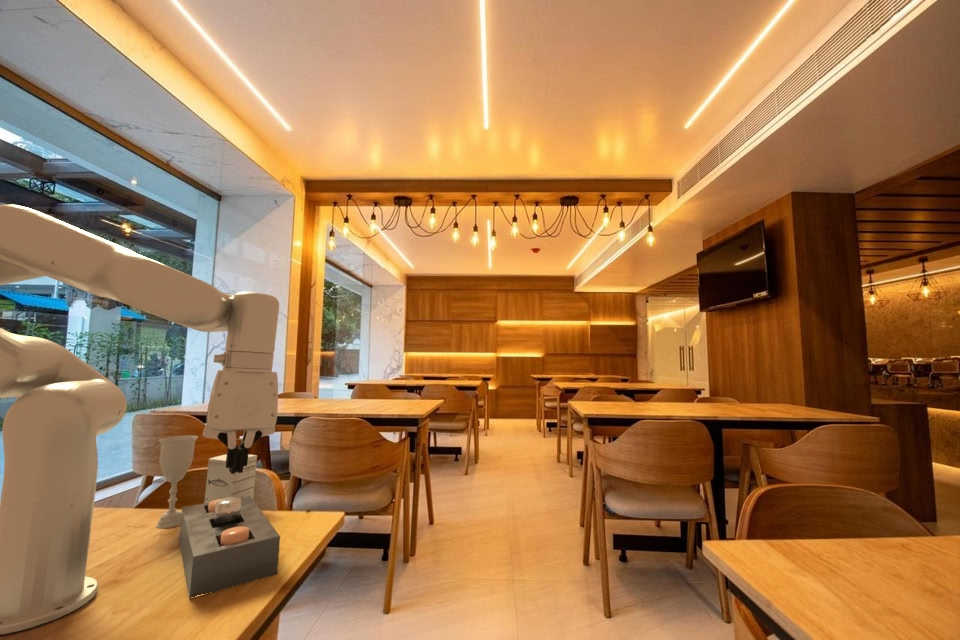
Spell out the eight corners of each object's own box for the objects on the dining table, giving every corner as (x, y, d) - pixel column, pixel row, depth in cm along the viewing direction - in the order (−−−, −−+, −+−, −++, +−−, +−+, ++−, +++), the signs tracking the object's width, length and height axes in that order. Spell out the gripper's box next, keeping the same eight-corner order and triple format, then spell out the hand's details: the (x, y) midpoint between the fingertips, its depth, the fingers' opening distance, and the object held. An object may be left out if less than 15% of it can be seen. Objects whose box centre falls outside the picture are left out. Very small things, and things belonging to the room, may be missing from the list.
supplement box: (201, 514, 92) (207, 458, 93) (230, 504, 99) (234, 451, 100) (226, 518, 90) (231, 460, 91) (254, 507, 97) (258, 454, 98)
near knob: (221, 558, 64) (223, 538, 64) (218, 549, 67) (219, 530, 67) (249, 551, 66) (251, 532, 67) (245, 542, 69) (246, 524, 70)
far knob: (208, 522, 77) (209, 506, 78) (206, 516, 81) (207, 501, 81) (232, 518, 80) (233, 502, 80) (229, 512, 83) (230, 497, 83)
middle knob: (215, 523, 71) (217, 506, 71) (212, 516, 74) (214, 500, 74) (241, 518, 73) (242, 501, 74) (237, 512, 76) (239, 495, 77)
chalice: (172, 530, 83) (181, 441, 85) (140, 529, 83) (149, 441, 85) (197, 517, 90) (205, 435, 92) (168, 516, 90) (176, 435, 92)
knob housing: (189, 599, 59) (193, 556, 60) (178, 538, 79) (181, 507, 80) (277, 573, 67) (280, 536, 67) (247, 524, 87) (249, 495, 87)
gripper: (199, 361, 62) (182, 483, 60) (299, 365, 72) (288, 471, 69) (195, 360, 68) (179, 471, 66) (288, 364, 78) (277, 462, 75)
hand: (235, 471), depth 68 cm, fingers closed
